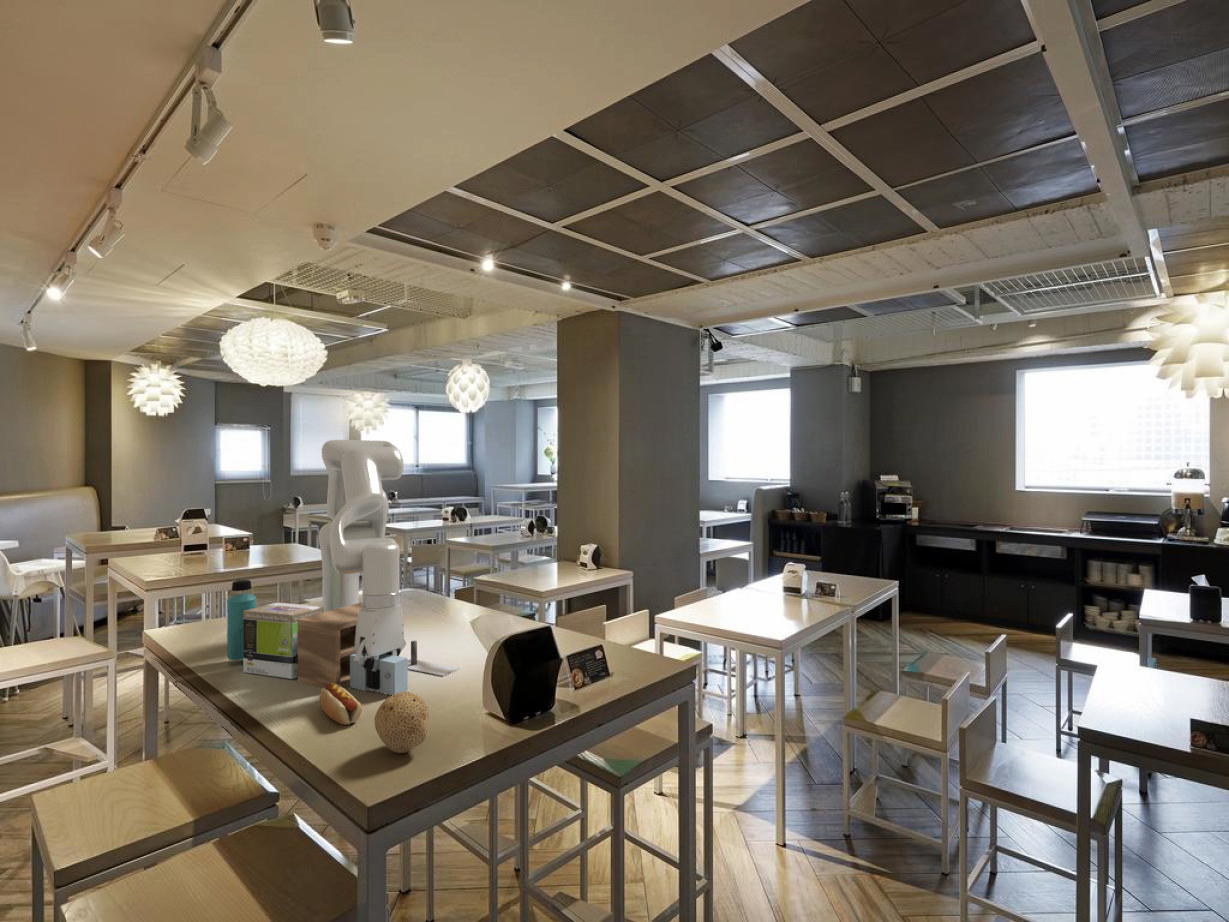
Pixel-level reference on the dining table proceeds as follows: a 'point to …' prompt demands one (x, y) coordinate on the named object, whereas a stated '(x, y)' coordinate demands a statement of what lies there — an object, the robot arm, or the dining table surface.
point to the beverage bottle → (237, 618)
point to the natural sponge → (402, 721)
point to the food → (340, 704)
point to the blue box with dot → (382, 674)
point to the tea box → (274, 638)
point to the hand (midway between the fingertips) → (381, 684)
